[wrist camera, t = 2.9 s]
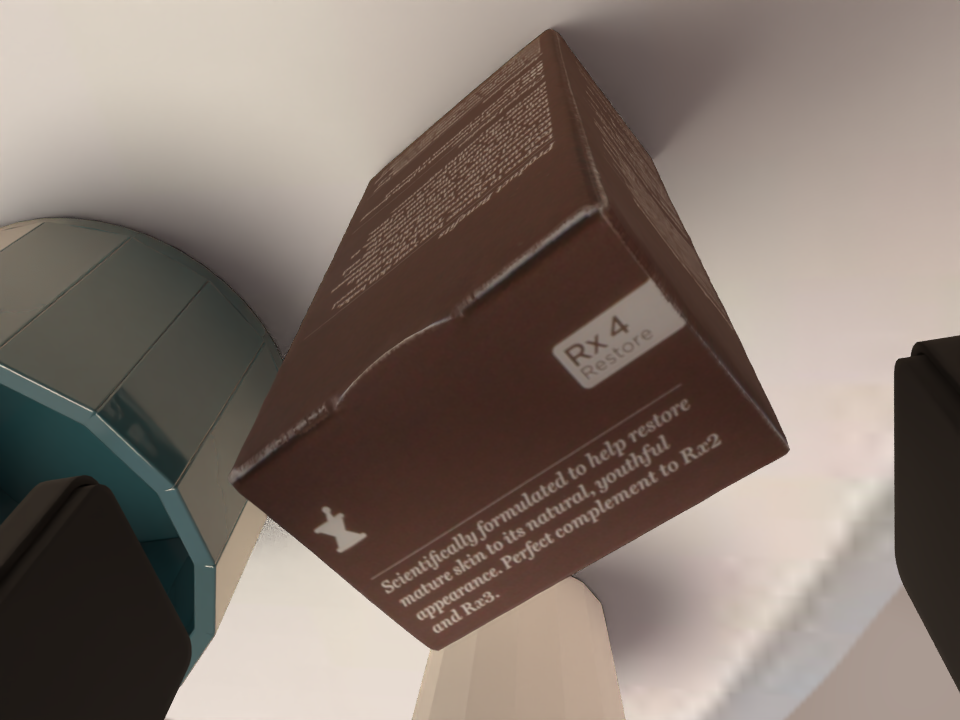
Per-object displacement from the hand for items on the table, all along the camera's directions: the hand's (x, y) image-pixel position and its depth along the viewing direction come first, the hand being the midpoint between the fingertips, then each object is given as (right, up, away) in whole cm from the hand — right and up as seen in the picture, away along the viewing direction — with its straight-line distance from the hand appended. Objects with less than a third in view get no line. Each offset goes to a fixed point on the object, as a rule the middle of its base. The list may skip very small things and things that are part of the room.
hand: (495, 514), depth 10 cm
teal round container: (-11, +1, +15) cm, 18 cm away
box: (+1, +6, +11) cm, 13 cm away
